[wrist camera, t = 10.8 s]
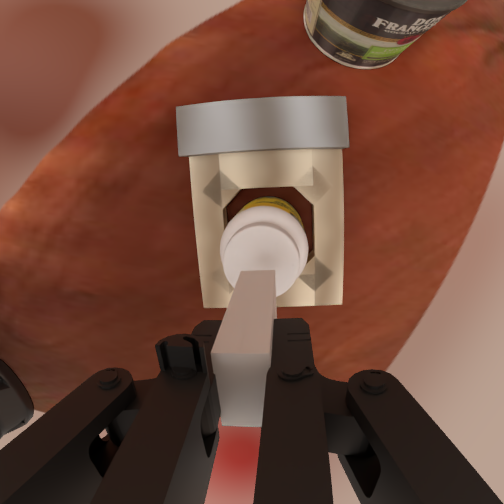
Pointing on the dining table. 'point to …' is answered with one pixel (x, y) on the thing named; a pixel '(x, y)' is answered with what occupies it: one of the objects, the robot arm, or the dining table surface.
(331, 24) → the coffee can
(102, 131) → the dining table surface
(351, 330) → the dining table surface
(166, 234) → the dining table surface
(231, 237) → the pill bottle
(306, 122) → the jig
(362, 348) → the dining table surface
